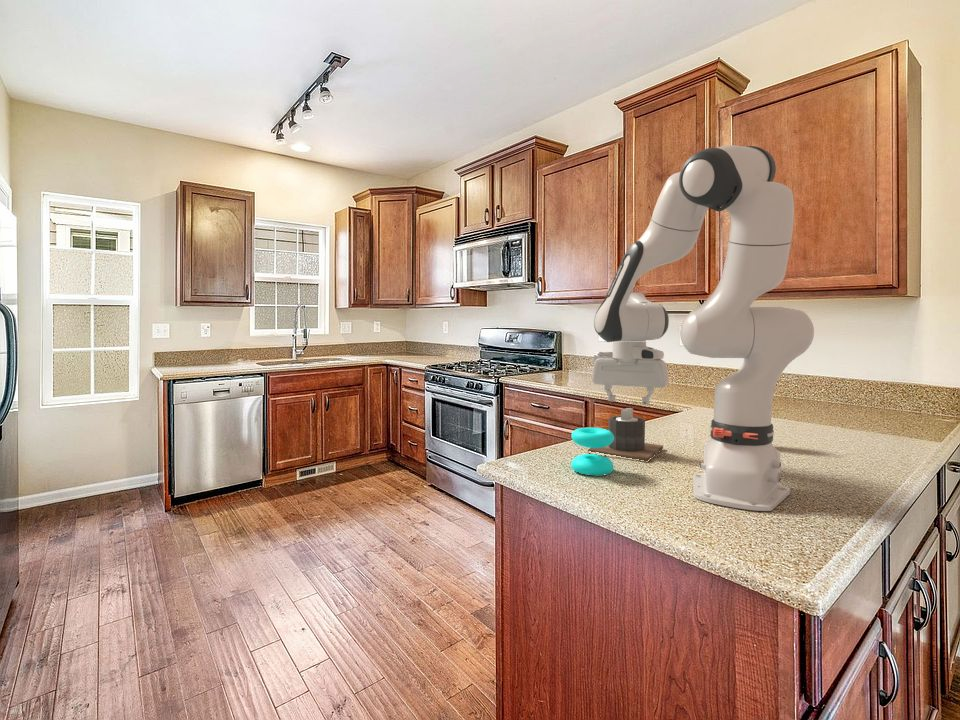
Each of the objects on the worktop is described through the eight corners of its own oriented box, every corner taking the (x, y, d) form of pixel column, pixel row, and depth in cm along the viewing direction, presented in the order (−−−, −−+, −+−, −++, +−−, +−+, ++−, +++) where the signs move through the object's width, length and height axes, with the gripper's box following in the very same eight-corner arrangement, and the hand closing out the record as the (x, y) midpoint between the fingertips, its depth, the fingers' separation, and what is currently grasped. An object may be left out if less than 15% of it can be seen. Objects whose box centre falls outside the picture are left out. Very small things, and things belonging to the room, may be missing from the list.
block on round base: (634, 428, 134) (634, 411, 134) (613, 426, 137) (613, 410, 137) (640, 425, 139) (640, 409, 139) (619, 423, 142) (620, 407, 142)
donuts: (567, 426, 124) (606, 426, 125) (566, 465, 125) (606, 465, 125) (577, 435, 114) (620, 434, 115) (576, 478, 115) (619, 477, 115)
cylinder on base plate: (647, 462, 127) (648, 427, 127) (588, 453, 136) (588, 420, 136) (663, 449, 141) (663, 417, 140) (608, 442, 150) (608, 411, 149)
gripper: (588, 352, 140) (588, 400, 140) (663, 352, 128) (663, 406, 129) (597, 351, 145) (596, 398, 145) (670, 352, 133) (669, 403, 134)
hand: (628, 402), depth 137 cm, fingers open, 8 cm apart
